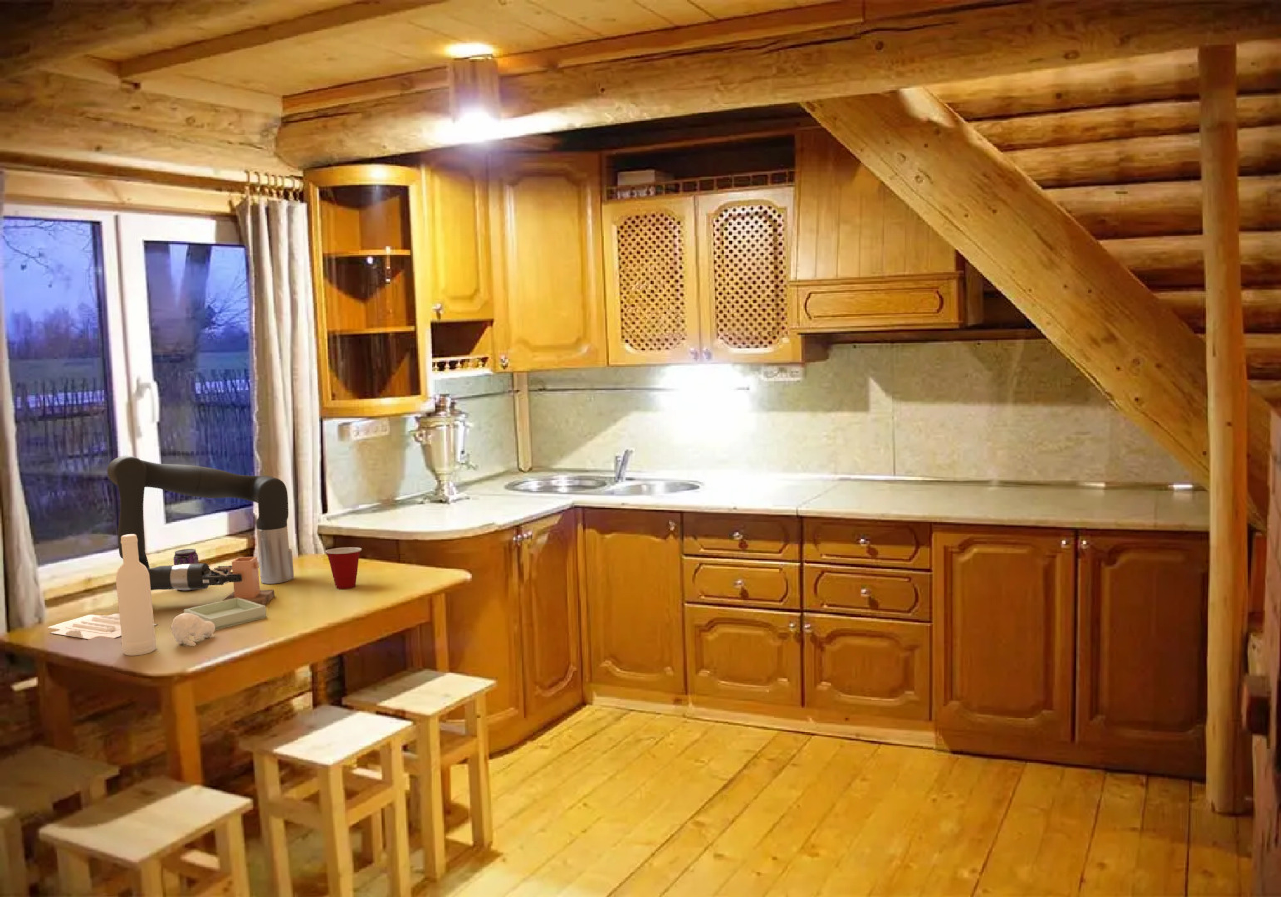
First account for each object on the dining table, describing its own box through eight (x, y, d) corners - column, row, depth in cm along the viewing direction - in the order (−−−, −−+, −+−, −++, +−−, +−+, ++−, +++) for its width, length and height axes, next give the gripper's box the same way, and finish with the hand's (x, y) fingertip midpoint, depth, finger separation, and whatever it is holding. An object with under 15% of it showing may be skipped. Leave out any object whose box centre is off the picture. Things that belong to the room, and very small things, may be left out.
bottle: (115, 653, 284) (104, 537, 280) (142, 645, 291) (131, 531, 287) (137, 657, 280) (125, 539, 276) (163, 648, 287) (152, 533, 283)
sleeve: (241, 593, 333) (237, 557, 331) (263, 592, 333) (260, 556, 331) (234, 598, 327) (231, 561, 326) (257, 597, 327) (254, 560, 326)
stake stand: (234, 598, 336) (231, 572, 335) (274, 596, 336) (272, 570, 335) (220, 608, 324) (218, 581, 323) (262, 607, 324) (260, 580, 323)
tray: (238, 608, 324) (237, 597, 323) (266, 617, 313) (265, 606, 313) (184, 621, 312) (183, 609, 312) (211, 631, 301) (210, 619, 301)
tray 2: (101, 614, 326) (100, 602, 325) (168, 627, 313) (168, 614, 312) (35, 634, 308) (34, 620, 307) (104, 649, 295) (103, 635, 294)
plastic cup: (369, 582, 350) (366, 544, 348) (357, 591, 339) (354, 552, 337) (335, 582, 351) (332, 544, 349) (322, 591, 340) (319, 552, 339)
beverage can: (172, 589, 350) (168, 551, 348) (194, 584, 355) (191, 547, 353) (182, 592, 345) (179, 554, 343) (204, 588, 350) (201, 550, 348)
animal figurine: (168, 614, 288) (204, 606, 298) (168, 646, 288) (205, 637, 299) (184, 616, 285) (221, 609, 295) (184, 648, 285) (221, 640, 296)
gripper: (180, 569, 321) (237, 567, 322) (198, 558, 335) (252, 556, 336) (182, 595, 322) (239, 592, 323) (200, 583, 336) (254, 580, 337)
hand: (246, 574), depth 329 cm, fingers open, 8 cm apart
